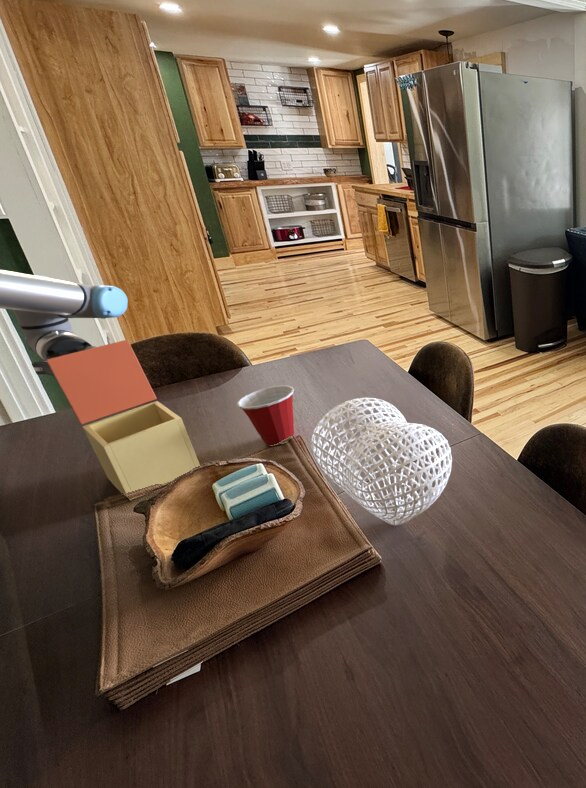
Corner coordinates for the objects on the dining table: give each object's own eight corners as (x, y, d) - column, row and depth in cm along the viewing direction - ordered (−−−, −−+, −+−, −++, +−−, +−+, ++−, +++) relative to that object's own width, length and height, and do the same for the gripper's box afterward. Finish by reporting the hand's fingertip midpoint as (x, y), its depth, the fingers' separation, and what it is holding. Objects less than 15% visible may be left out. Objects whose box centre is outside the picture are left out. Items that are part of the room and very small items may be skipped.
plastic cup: (290, 421, 117) (278, 378, 112) (315, 434, 112) (303, 390, 107) (241, 443, 108) (226, 398, 104) (266, 459, 103) (251, 412, 99)
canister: (201, 469, 100) (181, 417, 95) (130, 502, 91) (103, 447, 86) (177, 450, 106) (157, 400, 101) (108, 479, 97) (82, 426, 92)
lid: (127, 339, 97) (126, 339, 98) (46, 359, 88) (45, 359, 89) (157, 399, 101) (155, 398, 101) (81, 424, 92) (80, 424, 92)
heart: (479, 530, 85) (466, 425, 76) (399, 591, 73) (374, 475, 65) (393, 469, 100) (374, 376, 92) (317, 511, 89) (287, 409, 80)
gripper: (15, 345, 101) (45, 372, 90) (98, 326, 111) (134, 348, 100) (31, 376, 104) (62, 406, 93) (110, 355, 114) (147, 380, 103)
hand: (100, 376), depth 96 cm, fingers closed
